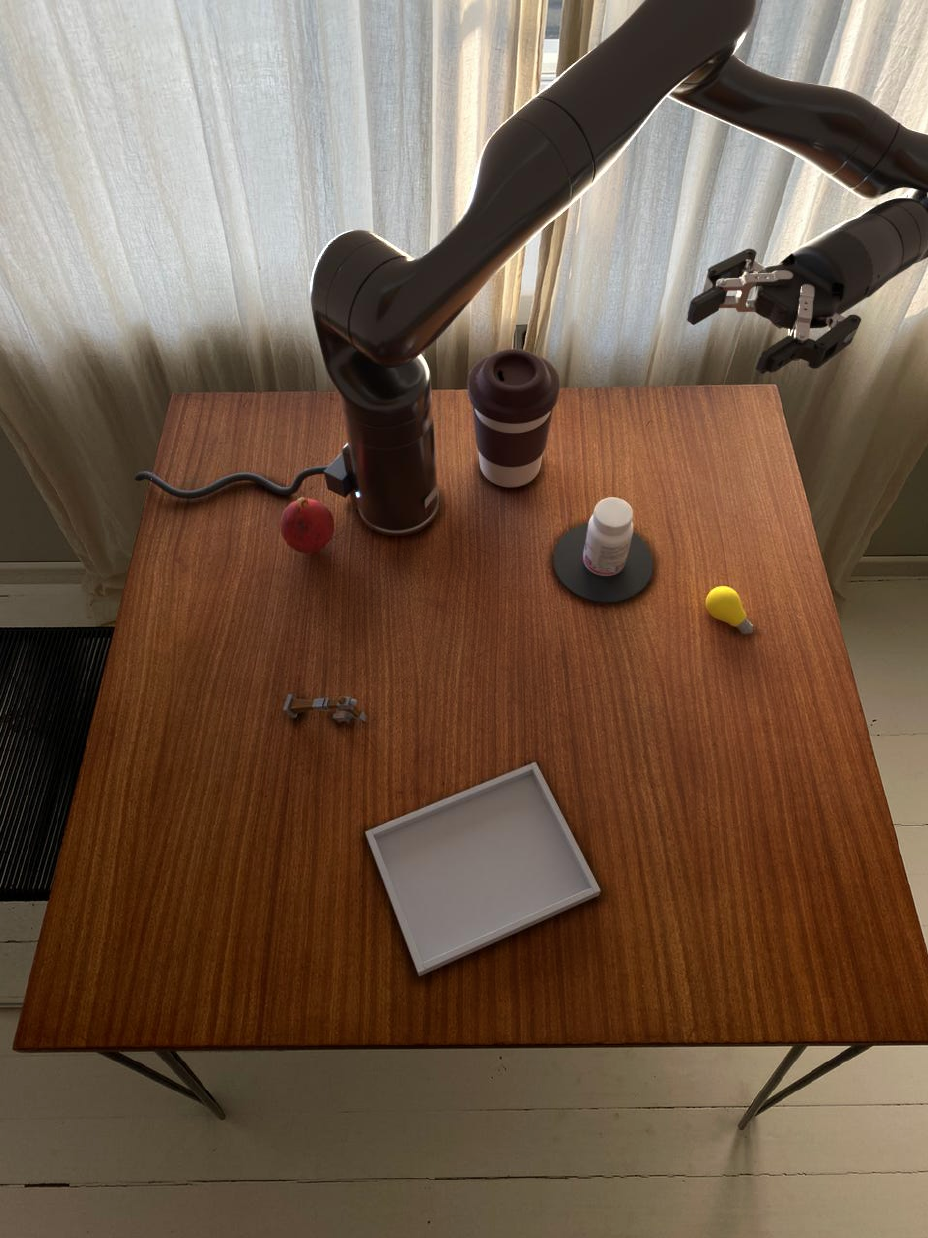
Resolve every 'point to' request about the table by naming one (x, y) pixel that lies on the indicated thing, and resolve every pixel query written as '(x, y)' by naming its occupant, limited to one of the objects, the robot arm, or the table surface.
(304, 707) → the wooden post with brackets
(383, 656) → the table surface
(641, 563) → the mat
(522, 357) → the coffee cup
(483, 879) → the tray
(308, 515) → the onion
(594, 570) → the pill bottle
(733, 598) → the light bulb
